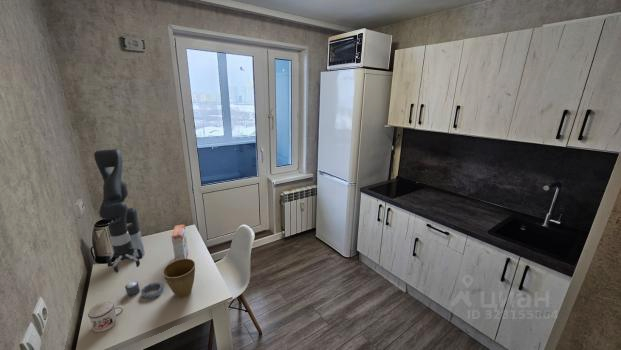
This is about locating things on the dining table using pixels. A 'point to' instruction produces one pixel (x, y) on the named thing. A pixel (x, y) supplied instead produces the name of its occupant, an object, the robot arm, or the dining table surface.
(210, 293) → the dining table surface
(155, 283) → the faceted grey ring
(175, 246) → the cracker box
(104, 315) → the teacup with lid
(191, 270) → the plant pot
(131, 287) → the cap
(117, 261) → the robot arm
